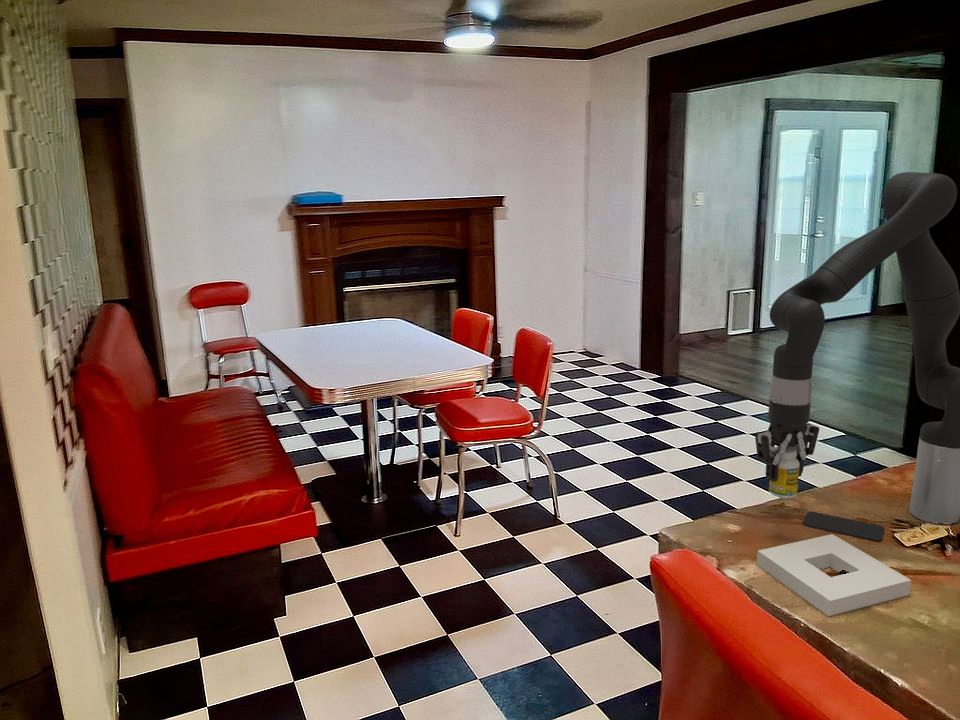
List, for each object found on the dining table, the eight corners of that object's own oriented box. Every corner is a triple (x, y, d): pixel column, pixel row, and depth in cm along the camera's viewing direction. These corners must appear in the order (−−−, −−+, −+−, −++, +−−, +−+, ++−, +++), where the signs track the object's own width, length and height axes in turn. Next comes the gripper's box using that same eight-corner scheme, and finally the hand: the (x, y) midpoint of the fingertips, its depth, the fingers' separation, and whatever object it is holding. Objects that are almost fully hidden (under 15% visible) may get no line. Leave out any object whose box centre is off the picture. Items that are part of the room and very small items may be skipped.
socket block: (830, 547, 144) (832, 534, 144) (909, 595, 128) (911, 580, 127) (756, 564, 139) (757, 550, 138) (828, 616, 122) (830, 600, 122)
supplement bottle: (779, 485, 150) (782, 442, 148) (802, 494, 146) (806, 450, 143) (763, 492, 147) (766, 448, 145) (786, 501, 143) (790, 456, 140)
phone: (807, 510, 160) (885, 526, 152) (807, 513, 160) (884, 529, 152) (801, 523, 154) (881, 540, 146) (801, 527, 154) (881, 544, 146)
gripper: (805, 388, 147) (799, 465, 151) (746, 397, 142) (741, 476, 147) (834, 398, 140) (826, 479, 144) (773, 408, 136) (767, 491, 140)
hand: (783, 477), depth 145 cm, fingers closed on supplement bottle, 5 cm apart
